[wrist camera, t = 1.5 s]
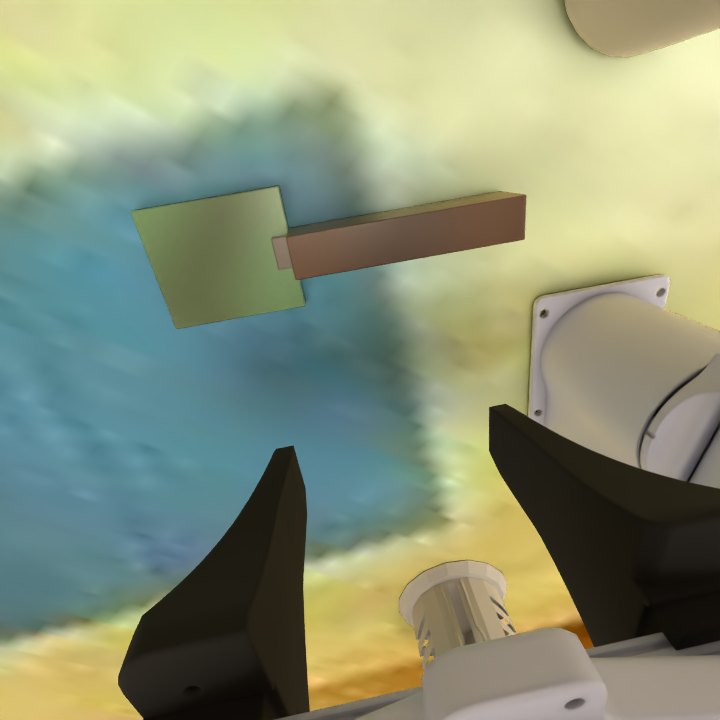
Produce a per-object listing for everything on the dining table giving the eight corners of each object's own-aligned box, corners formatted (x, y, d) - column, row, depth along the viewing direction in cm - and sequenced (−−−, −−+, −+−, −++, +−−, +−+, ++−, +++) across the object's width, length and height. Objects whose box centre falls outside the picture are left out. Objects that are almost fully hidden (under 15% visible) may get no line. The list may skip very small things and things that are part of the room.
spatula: (501, 147, 19) (528, 144, 17) (500, 267, 22) (523, 280, 20) (134, 210, 19) (107, 216, 16) (179, 325, 22) (161, 346, 19)
